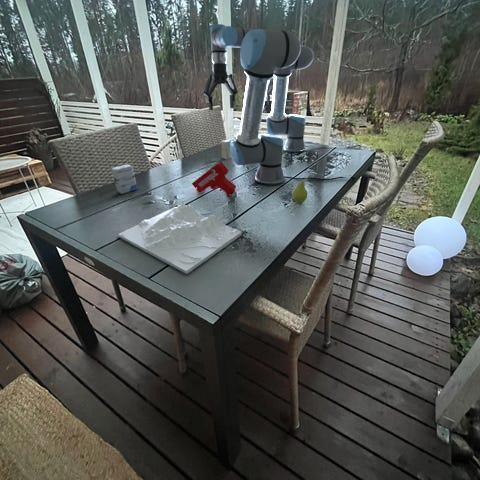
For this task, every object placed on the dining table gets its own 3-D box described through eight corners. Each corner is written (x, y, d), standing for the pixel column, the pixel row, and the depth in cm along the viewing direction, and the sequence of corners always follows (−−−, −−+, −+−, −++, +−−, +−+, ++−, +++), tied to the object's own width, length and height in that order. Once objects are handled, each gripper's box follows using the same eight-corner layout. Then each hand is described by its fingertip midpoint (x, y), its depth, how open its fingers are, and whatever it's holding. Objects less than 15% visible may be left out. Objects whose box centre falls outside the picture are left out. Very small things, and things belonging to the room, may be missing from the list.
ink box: (133, 186, 138) (127, 163, 132) (137, 189, 135) (132, 165, 129) (116, 191, 133) (110, 167, 127) (121, 194, 130) (114, 170, 124)
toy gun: (240, 187, 127) (221, 160, 123) (237, 190, 124) (218, 163, 120) (214, 205, 137) (195, 180, 133) (210, 208, 134) (191, 183, 130)
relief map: (186, 274, 80) (184, 260, 77) (118, 236, 97) (114, 224, 95) (241, 234, 98) (241, 222, 95) (176, 209, 116) (174, 198, 113)
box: (221, 157, 181) (221, 140, 175) (227, 156, 183) (226, 139, 177) (226, 159, 178) (225, 142, 172) (231, 158, 180) (231, 141, 174)
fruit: (288, 200, 123) (290, 174, 116) (302, 197, 125) (305, 172, 119) (296, 206, 118) (299, 179, 111) (310, 203, 120) (314, 177, 114)
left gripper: (201, 62, 130) (205, 111, 141) (243, 62, 142) (244, 107, 153) (194, 63, 135) (198, 110, 146) (235, 63, 147) (236, 106, 158)
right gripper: (267, 72, 189) (265, 105, 201) (292, 71, 202) (289, 103, 213) (260, 72, 195) (259, 104, 206) (285, 71, 207) (283, 102, 218)
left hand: (221, 109), depth 150 cm, fingers open, 13 cm apart
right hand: (274, 104), depth 210 cm, fingers open, 13 cm apart
